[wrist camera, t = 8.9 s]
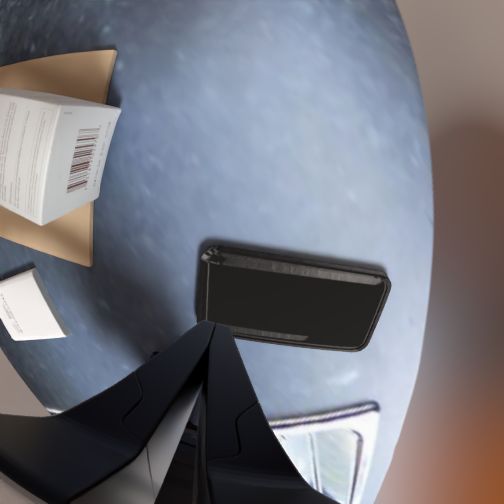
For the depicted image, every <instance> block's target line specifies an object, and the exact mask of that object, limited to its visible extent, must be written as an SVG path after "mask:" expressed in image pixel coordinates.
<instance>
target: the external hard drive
mask: <svg viewBox="0 0 504 504" xmlns="http://www.w3.org/2000/svg"><path fill="white" fill-rule="evenodd" d="M0 318H1V319H2V321H3V323H4V325H5V327H6V328H7V330H8V332H9V333H10V335H11V337H12V338H13V339H14V340H33V339H48V338H60V337H67V336H68V335H69V334H70V331H69V330H68V328H67V326H66V325H65V323H64V321H63V319H62V318H61V316H60V314H59V312H58V310H57V309H56V307H55V305H54V303H53V301H52V299H51V297H50V295H49V293H48V291H47V289H46V287H45V285H44V283H43V281H42V279H41V277H40V275H39V272H38V270H37V268H33V269H31V270H28V271H25V272H23V273H20V274H18V275H15V276H13V277H10V278H7V279H5V280H2V281H0Z"/></svg>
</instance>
